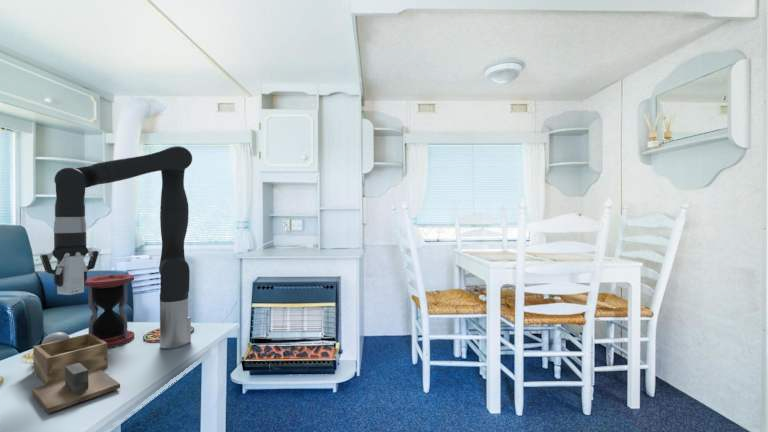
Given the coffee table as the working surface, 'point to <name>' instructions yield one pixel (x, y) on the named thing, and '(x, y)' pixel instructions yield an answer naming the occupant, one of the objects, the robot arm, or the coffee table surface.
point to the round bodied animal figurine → (55, 337)
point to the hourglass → (109, 308)
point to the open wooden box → (68, 356)
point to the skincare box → (72, 276)
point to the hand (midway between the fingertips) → (70, 284)
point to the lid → (74, 388)
